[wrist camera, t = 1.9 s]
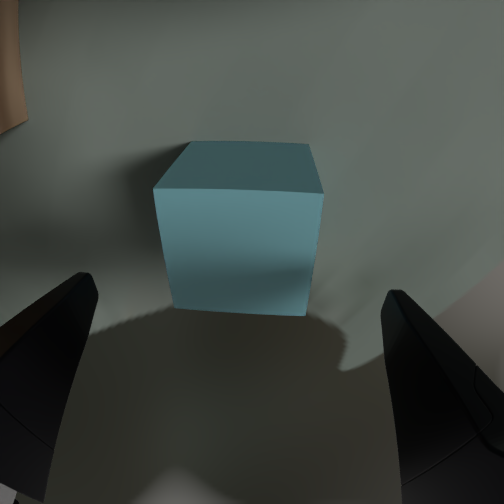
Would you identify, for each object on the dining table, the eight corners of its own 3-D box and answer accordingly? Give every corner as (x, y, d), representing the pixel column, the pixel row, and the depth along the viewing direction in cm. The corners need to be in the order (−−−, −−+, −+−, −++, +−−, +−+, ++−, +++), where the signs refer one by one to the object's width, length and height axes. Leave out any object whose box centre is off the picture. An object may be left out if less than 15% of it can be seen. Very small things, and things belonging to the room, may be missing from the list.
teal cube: (308, 143, 13) (324, 193, 9) (299, 241, 16) (305, 315, 12) (191, 140, 13) (152, 188, 9) (199, 236, 16) (174, 307, 12)
